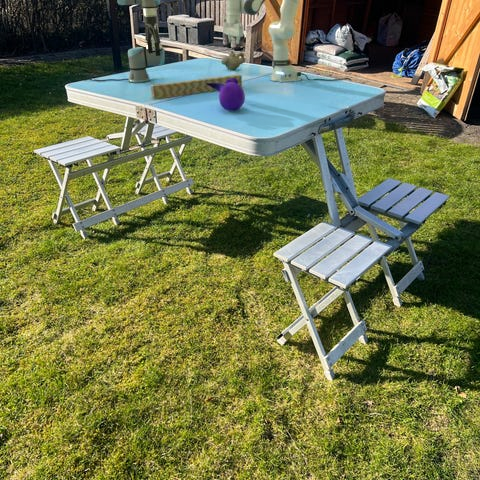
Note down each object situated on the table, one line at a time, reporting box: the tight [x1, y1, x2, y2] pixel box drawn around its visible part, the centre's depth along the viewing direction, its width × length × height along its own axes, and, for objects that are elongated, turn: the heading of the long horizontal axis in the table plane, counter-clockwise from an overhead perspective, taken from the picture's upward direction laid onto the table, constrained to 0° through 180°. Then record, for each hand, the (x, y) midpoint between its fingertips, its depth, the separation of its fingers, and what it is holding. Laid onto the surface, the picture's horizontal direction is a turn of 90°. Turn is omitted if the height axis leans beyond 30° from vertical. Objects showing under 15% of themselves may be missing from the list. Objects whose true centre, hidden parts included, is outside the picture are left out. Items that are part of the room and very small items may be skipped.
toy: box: [206, 78, 246, 112], centre depth 259 cm, size 16×18×27 cm
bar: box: [150, 74, 243, 100], centre depth 300 cm, size 64×4×8 cm, turn 119°
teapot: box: [221, 50, 245, 71], centre depth 369 cm, size 21×12×15 cm, turn 120°
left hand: (154, 54), depth 277 cm, fingers open, 13 cm apart
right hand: (234, 43), depth 299 cm, fingers open, 8 cm apart
